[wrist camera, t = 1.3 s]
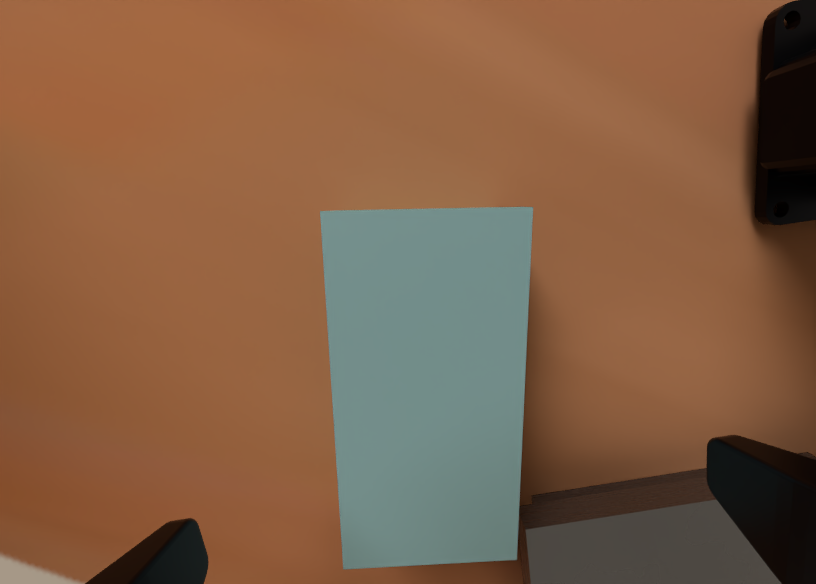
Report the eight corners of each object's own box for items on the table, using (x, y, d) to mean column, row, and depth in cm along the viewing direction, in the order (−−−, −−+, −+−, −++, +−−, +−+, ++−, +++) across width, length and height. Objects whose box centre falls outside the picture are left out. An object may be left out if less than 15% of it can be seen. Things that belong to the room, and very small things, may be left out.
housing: (490, 207, 13) (533, 207, 9) (484, 469, 15) (517, 560, 11) (341, 210, 13) (319, 211, 9) (355, 475, 15) (343, 568, 11)
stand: (835, 425, 15) (919, 467, 13) (816, 610, 17) (887, 677, 15) (503, 477, 15) (525, 529, 13) (522, 657, 17) (545, 733, 15)
